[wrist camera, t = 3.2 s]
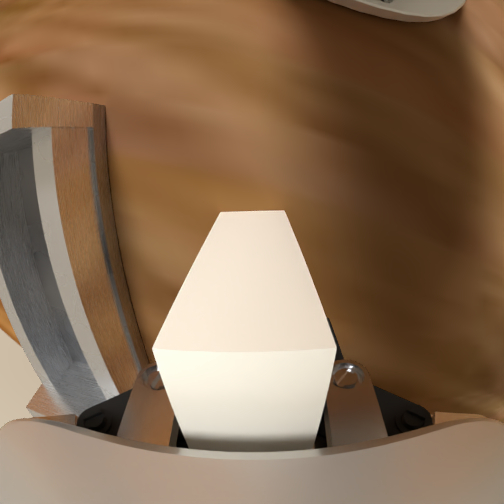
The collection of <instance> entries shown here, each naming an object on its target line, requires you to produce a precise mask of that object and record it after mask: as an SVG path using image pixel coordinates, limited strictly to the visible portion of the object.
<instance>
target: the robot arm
mask: <svg viewBox="0 0 504 504" xmlns="http://www.w3.org/2000/svg"><path fill="white" fill-rule="evenodd" d="M327 1H330V2H332V3H336V4H339V5H342V6H345V7H348V8H351V9H353V10H356V11H359V12H363V13H367V14H371V15H375V16H379V17H382V18H387V19H394V20H400V21H406V22H429V21H434V20H439V19H442V18H444V17H446V16H448V15H450V14H452V13H454V12H456V11H457V10H458V9H460V8H461V7H462V6H463V5H464V3H465V1H466V0H327ZM327 321H328V324H329V327H330V329H331V332H332V335H333V338H334V341H335V344H336V347H337V350H336V355H335V360H334V365H333V370H332V374H331V379H330V384H329V388H328V392H327V397H326V401H325V405H324V409H323V413H322V417H321V420H320V424H319V428H318V432H317V435H316V439H315V442H314V445H313V449H310V450H298V451H282V452H223V451H207V450H196V449H189V447H188V445H187V442H186V440H185V438H184V436H183V433H182V431H181V428H180V426H179V424H178V421H177V419H176V416H175V414H174V411H173V408H172V406H171V403H170V400H169V398H168V395H167V392H166V389H165V387H164V384H163V381H162V378H161V375H160V372H159V369H158V366H157V363H156V362H154V363H151V364H149V365H147V366H145V367H144V368H142V369H141V370H140V372H139V373H138V375H137V378H136V380H135V383H134V386H133V388H132V389H130V390H128V391H126V392H124V393H121V394H119V395H117V396H115V397H113V398H110V399H108V400H106V401H104V402H101V403H99V404H97V405H95V406H92V407H90V408H88V409H86V410H85V411H83V412H82V413H81V414H80V416H79V417H77V416H76V414H68V415H58V416H45V417H33V418H23V419H16V420H12V421H10V422H8V423H6V424H5V425H4V426H2V427H1V429H0V504H504V424H503V423H502V422H500V421H498V420H494V419H489V418H487V417H485V416H484V415H480V414H463V413H447V412H435V413H434V414H433V415H432V414H430V413H429V412H428V411H427V410H426V409H425V408H423V407H421V406H420V405H417V404H415V403H412V402H410V401H408V400H405V399H403V398H401V397H398V396H396V395H394V394H391V393H389V392H387V391H385V390H383V389H380V388H378V387H376V386H374V385H373V384H372V381H371V378H370V375H369V372H368V371H367V369H366V368H365V367H364V366H363V365H362V364H360V363H358V362H356V361H352V360H344V358H343V355H342V353H341V350H340V347H339V344H338V341H337V339H336V336H335V333H334V330H333V328H332V325H331V322H330V320H329V318H327Z"/></svg>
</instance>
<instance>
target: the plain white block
mask: <svg viewBox="0 0 504 504" xmlns="http://www.w3.org/2000/svg"><path fill="white" fill-rule="evenodd" d="M152 350H153V353H154V357H155V360H156V363H157V366H158V369H159V372H160V375H161V378H162V381H163V384H164V387H165V389H166V392H167V395H168V398H169V400H170V403H171V406H172V408H173V411H174V414H175V416H176V419H177V421H178V424H179V426H180V428H181V431H182V433H183V436H184V438H185V440H186V442H187V445H188V447H189V449H196V450H207V451H223V452H282V451H298V450H310V449H313V445H314V442H315V439H316V435H317V432H318V428H319V424H320V420H321V417H322V413H323V409H324V405H325V401H326V397H327V392H328V388H329V384H330V379H331V374H332V370H333V365H334V360H335V355H336V350H337V347H336V344H335V341H334V338H333V335H332V332H331V329H330V327H329V324H328V321H327V318H326V316H325V313H324V310H323V307H322V305H321V302H320V299H319V297H318V294H317V291H316V289H315V286H314V283H313V281H312V278H311V275H310V273H309V270H308V268H307V265H306V262H305V260H304V257H303V255H302V252H301V250H300V247H299V245H298V242H297V240H296V237H295V235H294V232H293V230H292V228H291V225H290V223H289V220H288V218H287V215H286V213H285V211H284V210H282V211H239V212H220V214H219V216H218V218H217V220H216V221H215V223H214V225H213V227H212V229H211V231H210V233H209V235H208V236H207V238H206V240H205V242H204V244H203V246H202V248H201V250H200V252H199V254H198V256H197V257H196V259H195V261H194V263H193V265H192V267H191V269H190V271H189V273H188V275H187V277H186V279H185V281H184V283H183V285H182V287H181V289H180V291H179V293H178V295H177V297H176V299H175V301H174V303H173V305H172V307H171V309H170V311H169V314H168V316H167V318H166V320H165V322H164V324H163V326H162V328H161V330H160V332H159V335H158V337H157V339H156V341H155V343H154V345H153V348H152Z"/></svg>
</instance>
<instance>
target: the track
mask: <svg viewBox="0 0 504 504" xmlns="http://www.w3.org/2000/svg"><path fill="white" fill-rule="evenodd" d="M0 298H1V300H2V303H3V306H4V308H5V311H6V313H7V315H8V318H9V320H10V322H11V325H12V327H13V329H14V331H15V333H16V336H17V338H18V340H19V342H20V344H21V346H22V348H23V350H24V352H25V353H26V356H27V357H28V359H29V361H30V363H31V365H32V366H33V368H34V370H35V372H36V373H37V375H38V377H39V379H40V380H41V382H42V385H41V386H40V387H39V389H38V390H37V392H36V393H35V395H34V396H33V398H32V399H31V401H30V402H29V404H28V405H27V407H26V408H27V409H28V411H29V412H30V413H31V414H32V416H33V417H45V416H58V415H68V414H76V416H77V417H79V416H80V414H81V413H82V412H83V411H85V410H86V409H88V408H90V407H92V406H95V405H97V404H99V403H101V402H104V401H106V400H108V399H110V398H113V397H115V396H117V395H119V394H121V393H124V392H126V391H128V390H130V389H132V388H133V386H134V383H135V380H136V378H137V375H138V373H139V372H140V370H141V369H142V368H144V367H145V366H147V365H149V361H148V358H147V355H146V352H145V349H144V345H143V342H142V339H141V336H140V332H139V329H138V325H137V322H136V318H135V315H134V311H133V307H132V303H131V300H130V296H129V291H128V287H127V283H126V279H125V274H124V270H123V265H122V260H121V255H120V250H119V245H118V239H117V233H116V227H115V221H114V215H113V208H112V200H111V192H110V183H109V174H108V163H107V149H106V130H105V106H104V105H99V104H93V103H87V102H81V101H75V100H68V99H60V98H53V97H44V96H34V95H22V94H12V95H10V96H8V97H7V98H5V99H3V100H2V101H0Z"/></svg>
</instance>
